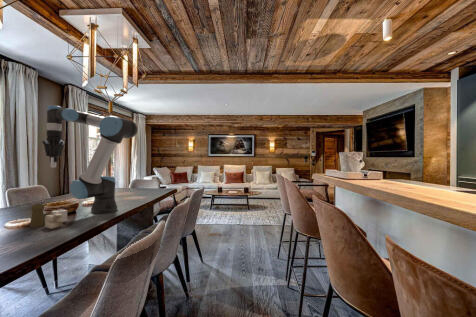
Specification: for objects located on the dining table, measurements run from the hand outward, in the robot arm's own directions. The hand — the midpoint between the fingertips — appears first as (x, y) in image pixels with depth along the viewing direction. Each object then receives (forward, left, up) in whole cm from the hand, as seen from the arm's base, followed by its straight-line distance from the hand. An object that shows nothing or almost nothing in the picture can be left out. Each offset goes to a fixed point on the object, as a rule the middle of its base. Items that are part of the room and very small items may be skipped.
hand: (53, 167), depth 145 cm
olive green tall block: (-15, +29, -29) cm, 43 cm away
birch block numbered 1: (-24, +30, -29) cm, 48 cm away
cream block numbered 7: (-20, +21, -29) cm, 41 cm away
